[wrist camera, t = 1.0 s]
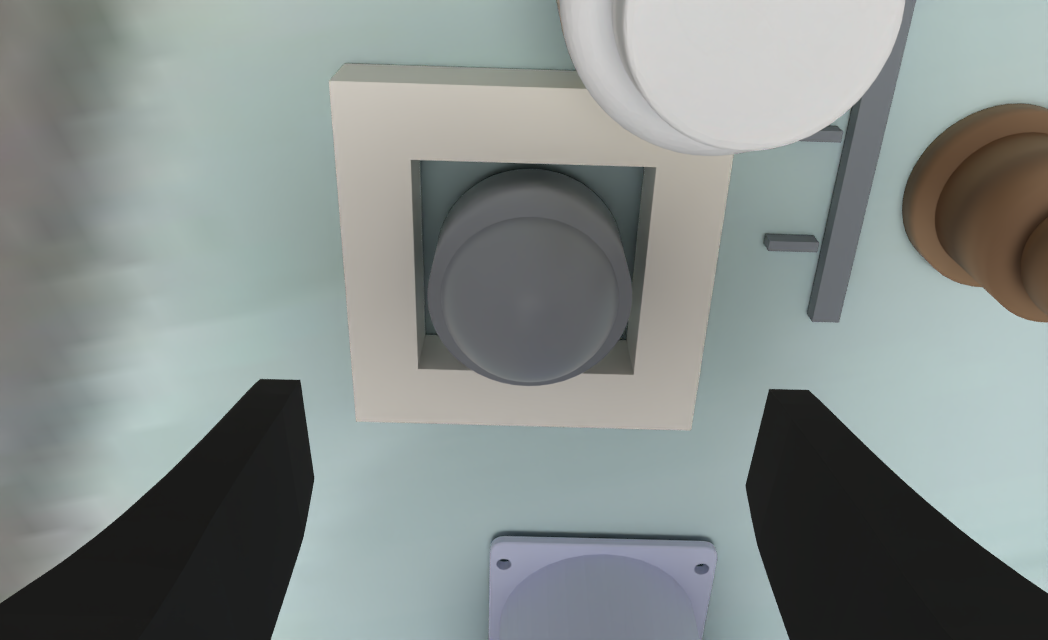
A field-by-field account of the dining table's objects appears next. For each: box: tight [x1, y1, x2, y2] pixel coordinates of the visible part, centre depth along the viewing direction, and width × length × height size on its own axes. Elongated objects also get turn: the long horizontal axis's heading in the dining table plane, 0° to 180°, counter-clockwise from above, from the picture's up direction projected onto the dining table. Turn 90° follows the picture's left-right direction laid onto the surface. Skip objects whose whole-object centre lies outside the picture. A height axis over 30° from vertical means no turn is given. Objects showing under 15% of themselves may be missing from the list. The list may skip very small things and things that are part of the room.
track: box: [764, 0, 916, 322], centre depth 22 cm, size 16×12×1 cm
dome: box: [427, 169, 632, 386], centre depth 22 cm, size 5×5×5 cm
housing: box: [329, 63, 734, 430], centre depth 24 cm, size 10×10×2 cm
